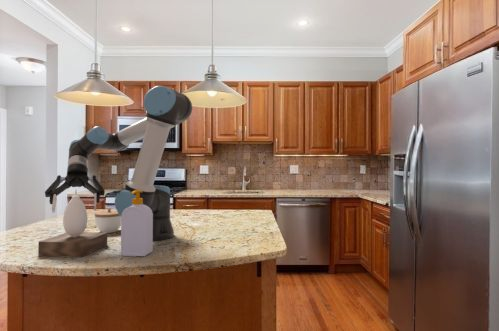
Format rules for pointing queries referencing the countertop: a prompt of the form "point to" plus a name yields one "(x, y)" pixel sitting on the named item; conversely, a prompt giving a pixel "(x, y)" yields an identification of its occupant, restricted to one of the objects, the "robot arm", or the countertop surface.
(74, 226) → the grey teardrop shape
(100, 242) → the walnut stand
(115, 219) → the lidded bowl
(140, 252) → the soap bottle
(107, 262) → the countertop surface
